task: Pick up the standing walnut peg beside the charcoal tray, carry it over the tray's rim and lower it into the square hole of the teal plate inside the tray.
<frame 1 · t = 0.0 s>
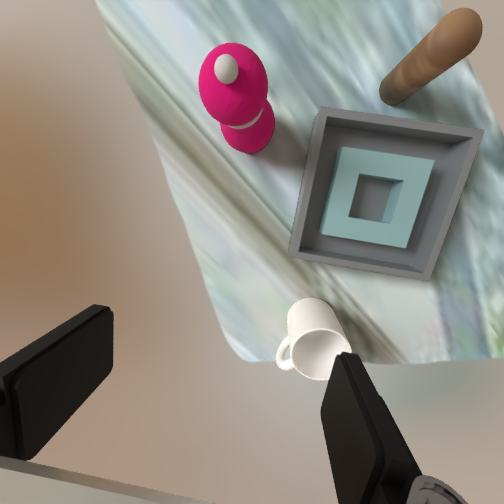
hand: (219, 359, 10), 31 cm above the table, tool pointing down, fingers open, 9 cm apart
mug: (301, 322, 44), on the table
peg: (394, 88, 33), on the table
tray: (364, 198, 37), on the table
pepper mill: (250, 131, 37), on the table
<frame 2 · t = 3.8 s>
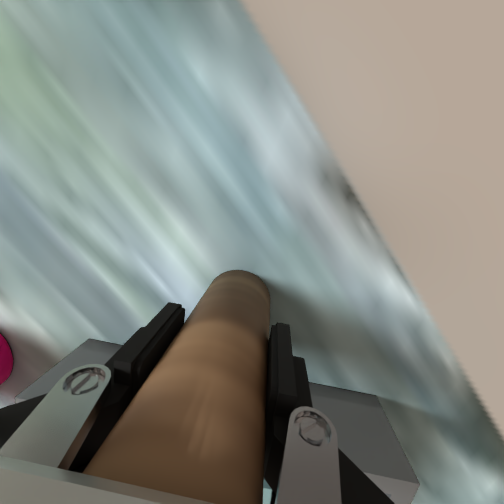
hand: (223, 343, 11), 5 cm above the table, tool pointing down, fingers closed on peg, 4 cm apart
peg: (238, 300, 15), on the table, touching gripper
tray: (211, 472, 19), on the table
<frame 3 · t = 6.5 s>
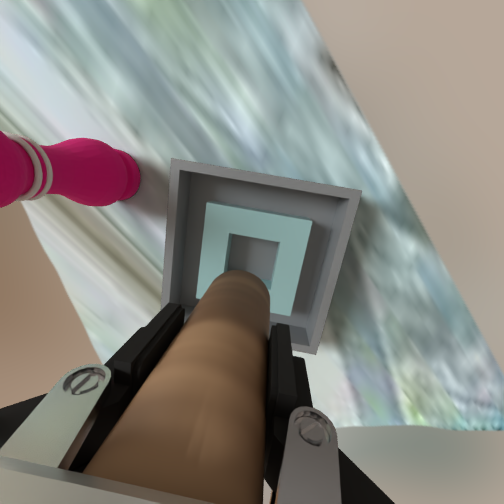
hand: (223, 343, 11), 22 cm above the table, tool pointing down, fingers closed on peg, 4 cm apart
peg: (238, 300, 15), point 17 cm above the table, touching gripper
tray: (253, 253, 32), on the table
pepper mill: (118, 175, 31), on the table
when the fingers open (7 cm above the table, at t = 9.5 s): peg drops 1 cm, resting on tray.
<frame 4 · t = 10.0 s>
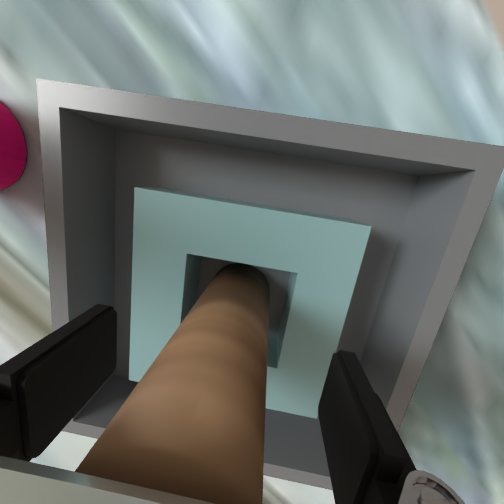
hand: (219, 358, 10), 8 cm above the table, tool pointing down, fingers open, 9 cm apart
peg: (240, 291, 16), point 1 cm above the table, touching tray
tray: (242, 286, 17), on the table
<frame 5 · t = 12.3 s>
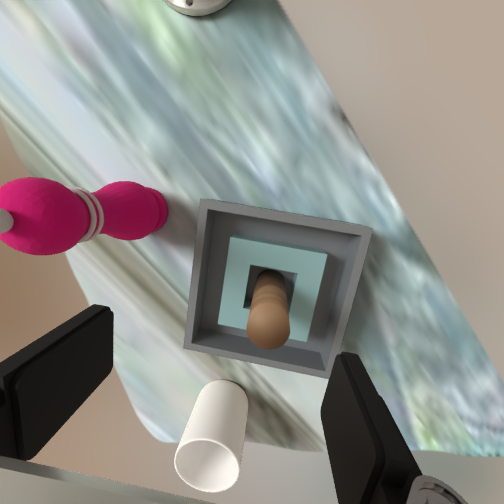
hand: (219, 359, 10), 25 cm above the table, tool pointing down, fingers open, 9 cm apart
mug: (216, 404, 40), on the table
peg: (270, 283, 34), point 1 cm above the table, touching tray
tray: (270, 281, 35), on the table
pepper mill: (148, 210, 35), on the table
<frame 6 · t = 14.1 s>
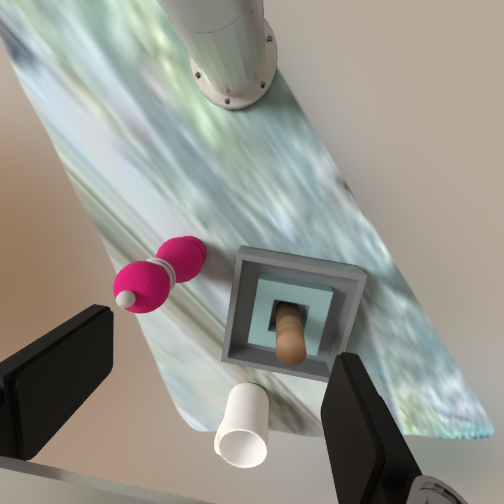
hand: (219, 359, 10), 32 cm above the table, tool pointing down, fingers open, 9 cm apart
mug: (242, 401, 50), on the table
peg: (287, 309, 43), point 1 cm above the table, touching tray
tray: (287, 307, 44), on the table
pepper mill: (189, 252, 43), on the table
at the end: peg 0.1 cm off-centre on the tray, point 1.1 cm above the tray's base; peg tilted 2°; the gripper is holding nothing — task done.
